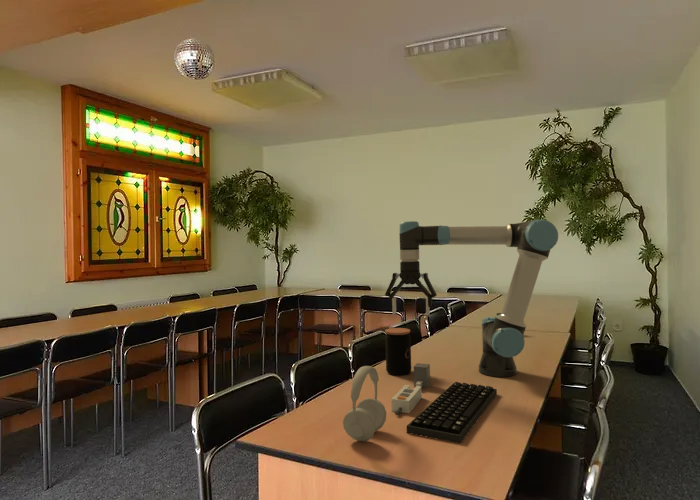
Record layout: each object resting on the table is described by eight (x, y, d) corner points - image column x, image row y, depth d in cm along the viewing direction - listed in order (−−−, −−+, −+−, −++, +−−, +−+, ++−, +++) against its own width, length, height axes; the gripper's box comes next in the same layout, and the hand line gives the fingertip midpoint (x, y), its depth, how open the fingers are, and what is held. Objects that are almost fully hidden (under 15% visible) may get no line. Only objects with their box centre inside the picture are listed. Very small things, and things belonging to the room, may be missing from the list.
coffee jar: (410, 376, 192) (409, 332, 192) (384, 375, 195) (383, 332, 194) (412, 369, 203) (411, 328, 203) (387, 368, 205) (386, 327, 205)
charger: (430, 384, 181) (429, 364, 181) (424, 391, 173) (424, 370, 172) (417, 383, 183) (417, 363, 183) (411, 390, 175) (410, 369, 174)
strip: (421, 397, 166) (421, 384, 166) (405, 417, 148) (405, 403, 148) (405, 395, 169) (405, 383, 169) (387, 415, 150) (387, 401, 150)
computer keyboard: (460, 445, 128) (460, 431, 128) (406, 434, 136) (406, 421, 136) (496, 396, 168) (496, 385, 167) (453, 390, 175) (453, 380, 175)
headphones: (362, 421, 145) (361, 357, 145) (391, 425, 142) (389, 360, 141) (338, 447, 128) (336, 374, 128) (369, 452, 125) (367, 377, 124)
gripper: (443, 260, 183) (444, 314, 183) (382, 260, 192) (384, 311, 193) (439, 261, 176) (440, 317, 176) (376, 261, 186) (377, 314, 186)
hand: (410, 314), depth 185 cm, fingers open, 13 cm apart
